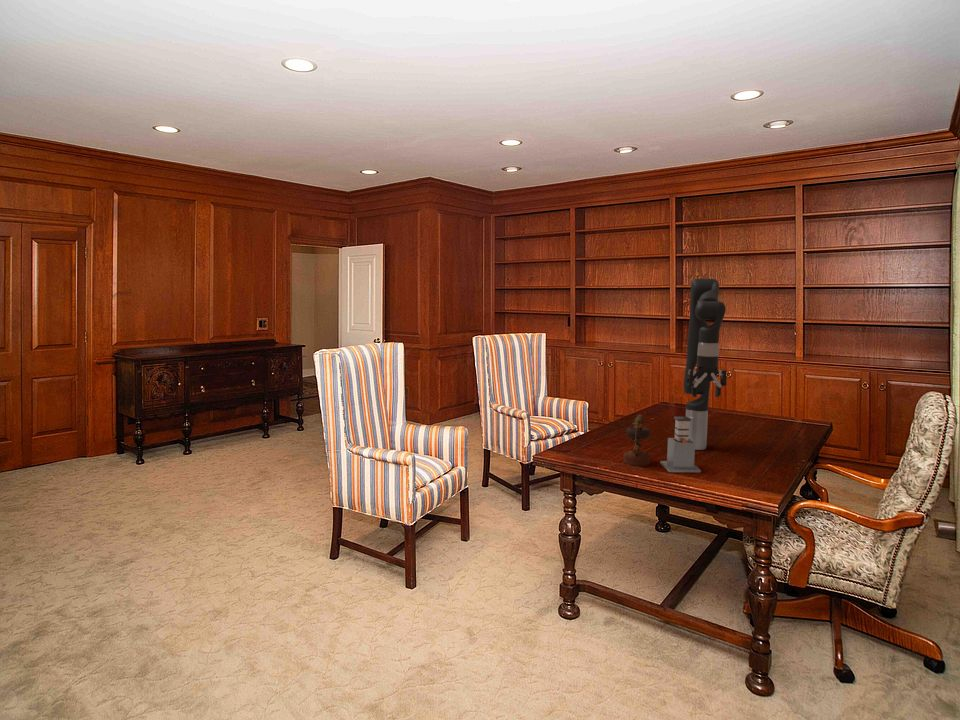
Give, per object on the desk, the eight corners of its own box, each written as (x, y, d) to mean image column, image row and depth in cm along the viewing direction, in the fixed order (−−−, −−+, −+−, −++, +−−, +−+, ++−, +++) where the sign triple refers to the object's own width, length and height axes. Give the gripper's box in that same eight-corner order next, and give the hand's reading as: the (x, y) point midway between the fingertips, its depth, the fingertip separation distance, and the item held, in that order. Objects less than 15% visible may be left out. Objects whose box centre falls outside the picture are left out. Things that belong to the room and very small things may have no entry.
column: (671, 463, 236) (673, 416, 234) (684, 463, 236) (686, 416, 234) (675, 466, 231) (677, 419, 229) (688, 466, 231) (690, 419, 229)
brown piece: (652, 467, 233) (650, 417, 231) (624, 468, 235) (621, 418, 233) (650, 457, 248) (647, 410, 246) (623, 458, 250) (620, 411, 248)
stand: (660, 463, 239) (661, 433, 238) (690, 463, 239) (691, 434, 238) (669, 472, 227) (670, 441, 226) (700, 472, 227) (702, 441, 226)
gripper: (722, 353, 227) (720, 395, 229) (685, 353, 227) (683, 395, 229) (731, 355, 220) (728, 398, 222) (692, 355, 219) (690, 398, 221)
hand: (705, 396), depth 225 cm, fingers open, 8 cm apart
